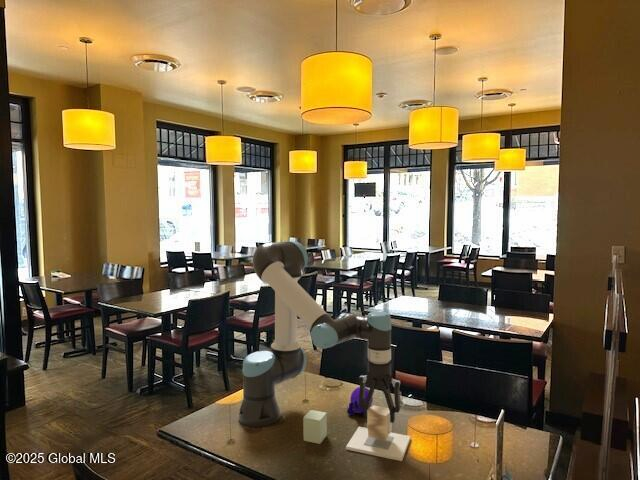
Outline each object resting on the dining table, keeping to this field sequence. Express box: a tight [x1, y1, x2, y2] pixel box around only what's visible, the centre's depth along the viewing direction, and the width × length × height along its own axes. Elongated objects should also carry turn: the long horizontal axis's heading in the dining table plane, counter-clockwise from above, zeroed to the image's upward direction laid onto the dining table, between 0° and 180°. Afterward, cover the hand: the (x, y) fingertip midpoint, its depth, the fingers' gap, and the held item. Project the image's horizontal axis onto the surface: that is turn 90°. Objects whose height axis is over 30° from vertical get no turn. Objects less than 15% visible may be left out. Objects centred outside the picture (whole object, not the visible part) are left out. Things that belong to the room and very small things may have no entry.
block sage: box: [302, 409, 328, 445], centre depth 149 cm, size 6×6×8 cm
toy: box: [346, 386, 374, 416], centre depth 167 cm, size 9×10×15 cm
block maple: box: [368, 405, 389, 440], centre depth 144 cm, size 6×6×8 cm
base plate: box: [345, 426, 412, 462], centre depth 145 cm, size 18×14×1 cm
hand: (379, 429), depth 144 cm, fingers closed on block maple, 6 cm apart
